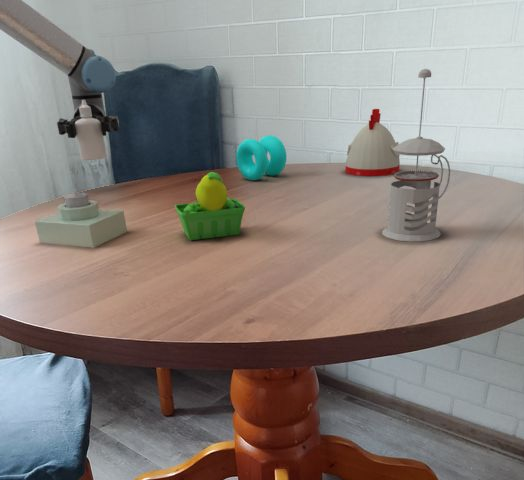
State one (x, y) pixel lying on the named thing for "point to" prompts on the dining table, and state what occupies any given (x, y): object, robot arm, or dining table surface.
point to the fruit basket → (211, 211)
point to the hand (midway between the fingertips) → (87, 129)
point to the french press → (415, 190)
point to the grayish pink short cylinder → (76, 200)
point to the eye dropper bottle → (89, 135)
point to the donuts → (261, 157)
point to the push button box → (81, 226)
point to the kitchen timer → (372, 150)
